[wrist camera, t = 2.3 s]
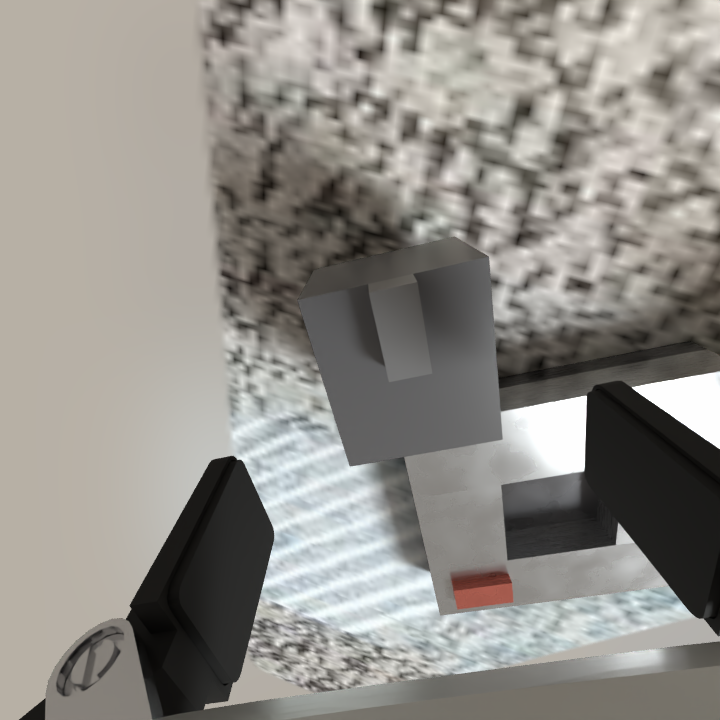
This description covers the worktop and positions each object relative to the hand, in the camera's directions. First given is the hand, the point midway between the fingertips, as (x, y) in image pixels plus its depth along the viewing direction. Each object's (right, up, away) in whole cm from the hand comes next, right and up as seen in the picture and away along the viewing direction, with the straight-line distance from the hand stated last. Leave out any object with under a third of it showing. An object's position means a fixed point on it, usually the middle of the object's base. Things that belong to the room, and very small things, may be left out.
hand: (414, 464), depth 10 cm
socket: (+10, -5, +14) cm, 18 cm away
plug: (0, +5, +9) cm, 10 cm away
